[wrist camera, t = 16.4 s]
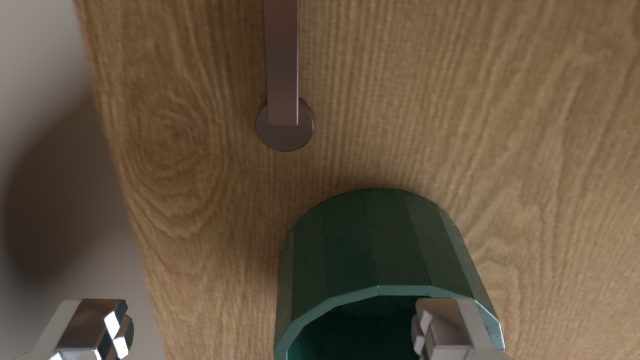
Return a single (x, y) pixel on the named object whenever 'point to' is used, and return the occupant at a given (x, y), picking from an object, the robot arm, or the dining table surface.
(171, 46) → the dining table surface
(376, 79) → the dining table surface
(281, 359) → the tin
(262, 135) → the brown bar with disc
